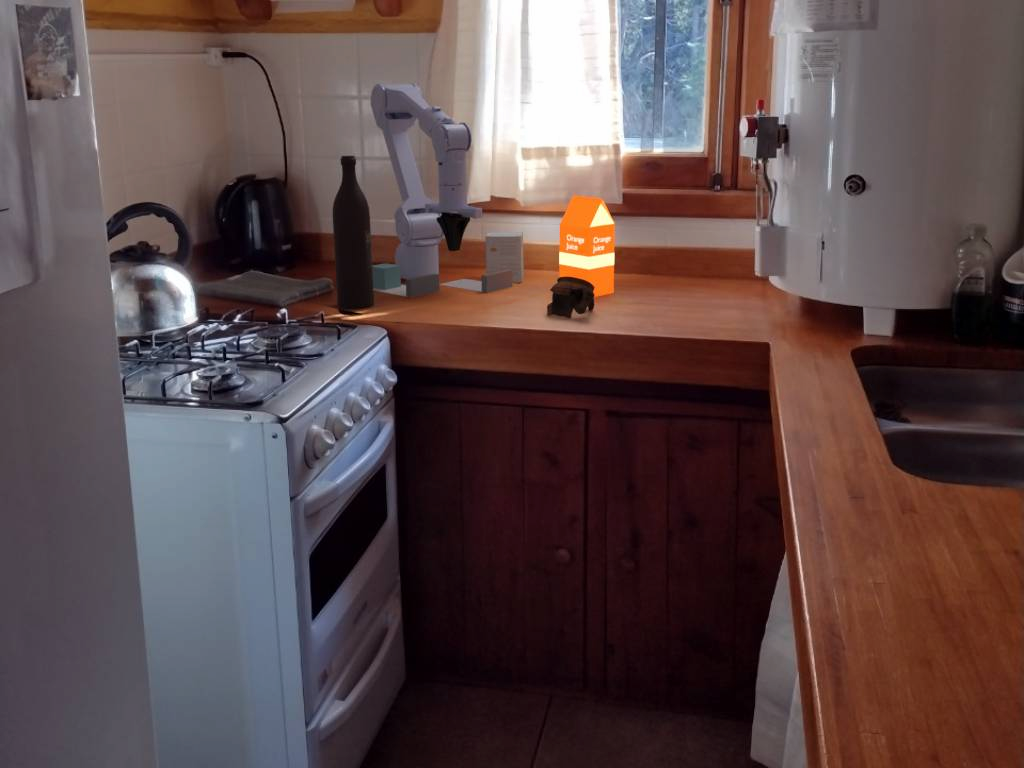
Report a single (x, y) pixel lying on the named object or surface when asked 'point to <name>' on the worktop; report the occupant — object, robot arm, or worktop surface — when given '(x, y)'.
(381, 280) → the teal block
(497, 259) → the small box
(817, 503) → the worktop surface
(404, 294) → the grey piece
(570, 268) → the orange juice
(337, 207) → the wine bottle
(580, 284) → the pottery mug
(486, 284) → the grey l-shaped block
